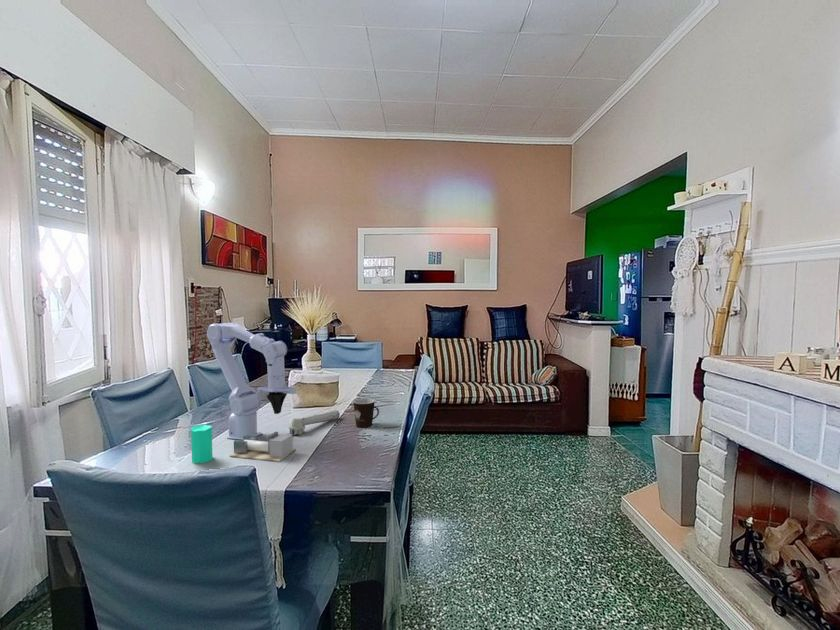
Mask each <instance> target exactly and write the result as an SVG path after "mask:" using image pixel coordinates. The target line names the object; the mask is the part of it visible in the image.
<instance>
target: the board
mask: <svg viewBox="0 0 840 630" xmlns="http://www.w3.org/2000/svg"><path fill="white" fill-rule="evenodd" d="M296 449H297V448H293V451H294V452H295V451H296ZM293 451H292V452H290V453H291V454H293V453H294V452H293ZM290 453H289V454H290ZM289 454H287V455H286V456H287V457H288V456H290V455H291V454H290V455H289ZM286 456H284V457H283V458H275V457H270V454H268V452H263V451H253V450H248V453H247V454H240V453H234V452H233V453H231V454H230V455H229V458H236V459H237V458H239V459H248V460H255V461H256V460H257V461H265V462H275V463H280V462H281V461H282V460H284V459H286V458H287V457H286Z"/></svg>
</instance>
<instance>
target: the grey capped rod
mask: <svg viewBox="0 0 840 630" xmlns="http://www.w3.org/2000/svg"><path fill="white" fill-rule="evenodd" d="M340 416H341V415H340V412H339V410H336V409H334V410H327V411H325V412H321V413H316V414H312V415H308V416H303V417H293V418H292V419H291V424H290V425H289V426H288V429H289V430H288V431H289V433H288V434H290V435H292V436H297V435H303V434H304V433H303V432H304V431H305V428H306V426H309V425H314V424H320V423H325V422H333V421H335V420H338V419H340Z"/></svg>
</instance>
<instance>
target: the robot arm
mask: <svg viewBox="0 0 840 630" xmlns="http://www.w3.org/2000/svg"><path fill="white" fill-rule="evenodd" d="M206 337H207V339H208V342H209V343H210V346H211V348H212V349H211V350H212V353H213V355H214V356H215V358H216V361H217V363H218V365H219V367H220V370H221V371H222V373H223V375H224V378H225V380H226V382H227V384H228V386H229V388H230V390H231V393H230V395H229V397H228V401H229V404H230V405H229V406H230V407H229V408H230V411H231V412H232V413H231V414H230V415H229V417H228V436H227V437H226V438H227V439H230V440H238V441H243V436H245V435H247V436H257V437H259V436H261V435H263V432H262V431H258V420H257V419H258V416H257V415H258V412H259V408H260V406H261V405H262V399H261V398H262V397H261V396H260V394H261V393H264V394H267V395H266V399H268V401H269V403H270V404H271V407H272V410H273V413H274V415H279V414H280V413H282V412H281V411H282V408H283V404H284V401H285V399H286V397H287V395H288V394H289V395H296V394H297V387H292V386H286V379H285V378H286V377H285V376H286V375H285V356H286V355H287V353H288V347H287V346H288V345H286V343H285V342H284V341H283V340H278V341H276V340H275V339H274V338H269V337H268V336H265V333H262V332H260V333H255V334H254V333H252V332H251V331H248V330H247V329H245V328H243V327H241V325H240V324H238V323H236V322H233V321H231V322H226V323H212V324H210V325H209V326H208V328H207V332H206ZM236 339H238V340H241V341H244V342H245V343H248V344H249V347H250V348H251V349H253V350H255V351H256V352H257V351H258V352H260V353H261V354H262V355H263V356H264V358H265V363H266V364H267V366H266V367H267V386H258V387H257V390H255V388H254V387H251V385H248V384H247V383H246V381H245V378H244V377H243V375H242V372H241V370H240V368H239V366H238V364H237V362H236V359H235V358H234V356H233V354H232V352H231V347H232V346H233V344H234V343H235V342H236Z"/></svg>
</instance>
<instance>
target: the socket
mask: <svg viewBox="0 0 840 630" xmlns="http://www.w3.org/2000/svg"><path fill="white" fill-rule="evenodd" d="M269 443H270V457H275V458H283V457H284V456H286V455H287V454H289V453H290V452H292V451H293V449H294V448H293V447H294V446H293V435H291V434H289V433H286V434H285V433H278V436H276V437H274V438H272V439H271V440H269ZM292 453H293V452H292Z"/></svg>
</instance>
